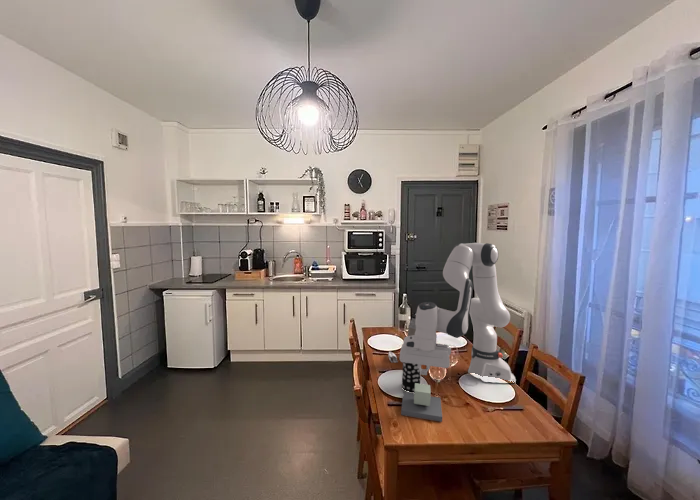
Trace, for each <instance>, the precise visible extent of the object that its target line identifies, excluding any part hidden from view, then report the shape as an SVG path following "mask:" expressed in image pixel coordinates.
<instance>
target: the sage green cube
mask: <svg viewBox="0 0 700 500" xmlns="http://www.w3.org/2000/svg"><path fill="white" fill-rule="evenodd" d="M431 390H432V389H431V385H430V384H423V383H420V384H418V383H415V389H414V393H413V394H414V404H420V405H426V406H430V397H431V396H432V394H431V393H432V392H431Z"/></svg>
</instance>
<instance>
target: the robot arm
mask: <svg viewBox="0 0 700 500" xmlns="http://www.w3.org/2000/svg"><path fill="white" fill-rule="evenodd" d="M498 259H499V250H498V248H497V246H496V245H495V244H492V243H487V242H486V243H483V242H472V243H471V242H470V243H469V242H467V243H458V244H457V243H456V244H455V245H454V246H453V248H451V252H450V254H449V256H448V257H447V259H446V261H445V264H444V267H443V270H442V277H443V278H444V281H445V282H446V283H447V284H449V285H450V286H451V287H452V288H454V289H455V290H457V291H459V298H458V304H457V308H456V310H455V311H452V310H447V309H445V308H442V307H441V308H440V307H438V306H437V304H436V303H435V302H431V301H428V302H427V301H425V302H421V303H419V304H418V305H417V308H416V314H415V315H416V320H415V325H416V331H415V335H412V336H408V335H407V336H405V337H404V338H403V343H402V345H401V348H400V352H399V359H398V361H400V362H401V363H403V362H405V363H412V364H418V366H417V367H418V368H419V370H420V374H421V376H427V375H428V371H429V370H430V369H431V367H434V368H435V367H437V368H443V369H448V368H449V367H450V364H451V362H450V355H451V354H452V348H451V346H449V345H448V344H446V343H445V344H443V343H437V338H438V337H437V332H440V333H443V334H447V335H448V336H450V337H453V338H456V339H458V338H461V337H462V336H465V335H466V334H467V332H468V330H469V316H470V320H471V323H472V329H473V342H472V343H473V345H471V346H472V347H471V352H470V353H471V355H470V356H471V359H470V364H469V367H468V369H467V372H468V374H469V373H475V374H478V375H480V376H482V377H483V376H488V377H495V378H500V379H504V380H508V381H510V382H511V381H512V382H513V381H514V382H515V384H516V381H517V379H516V376H515V375H514V373H512V371H511V370H512V369H511V367H510V365H509V364H508V363H507V361H505V360H503V357H504V356H503V353H501V351H499V350H498V349H497V343H498V334H497V332H496V331H495V327H497V328H504V327H506V326H508V324H509V323H510V321H511V314H510V311H509V310H508V309H507V308H506V306H505V305H504V303H503V300H502V298H501V296H500V292H499V288H498V278H497V268H496V263H497V262H498ZM471 270H472V279H470V272H471ZM473 290H474V293H475V294H476V295H477V297H473ZM472 297H473V298H472ZM422 366H426V368H422ZM514 382H513V383H514Z"/></svg>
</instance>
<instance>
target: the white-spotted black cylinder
mask: <svg viewBox="0 0 700 500" xmlns="http://www.w3.org/2000/svg"><path fill="white" fill-rule="evenodd" d="M417 366H418V364H412V363H405V362H402V374H401V378H402V380H401V389H402V388H403V389H404V390H406V391H409V392H414V389H415V383H418V384H421V376H422V375H421V374H420V370H419V368H418V367H417ZM403 389H402V390H403ZM404 390H403V391H404ZM406 391H405V392H406ZM409 392H408V393H409Z"/></svg>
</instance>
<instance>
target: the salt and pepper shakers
mask: <svg viewBox="0 0 700 500" xmlns="http://www.w3.org/2000/svg"><path fill="white" fill-rule="evenodd" d="M388 359H389V361H390V362H391V363H394V364H395V363H399V360H398V358H397V355H396V354H395V353H394V352H392V351H388Z"/></svg>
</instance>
